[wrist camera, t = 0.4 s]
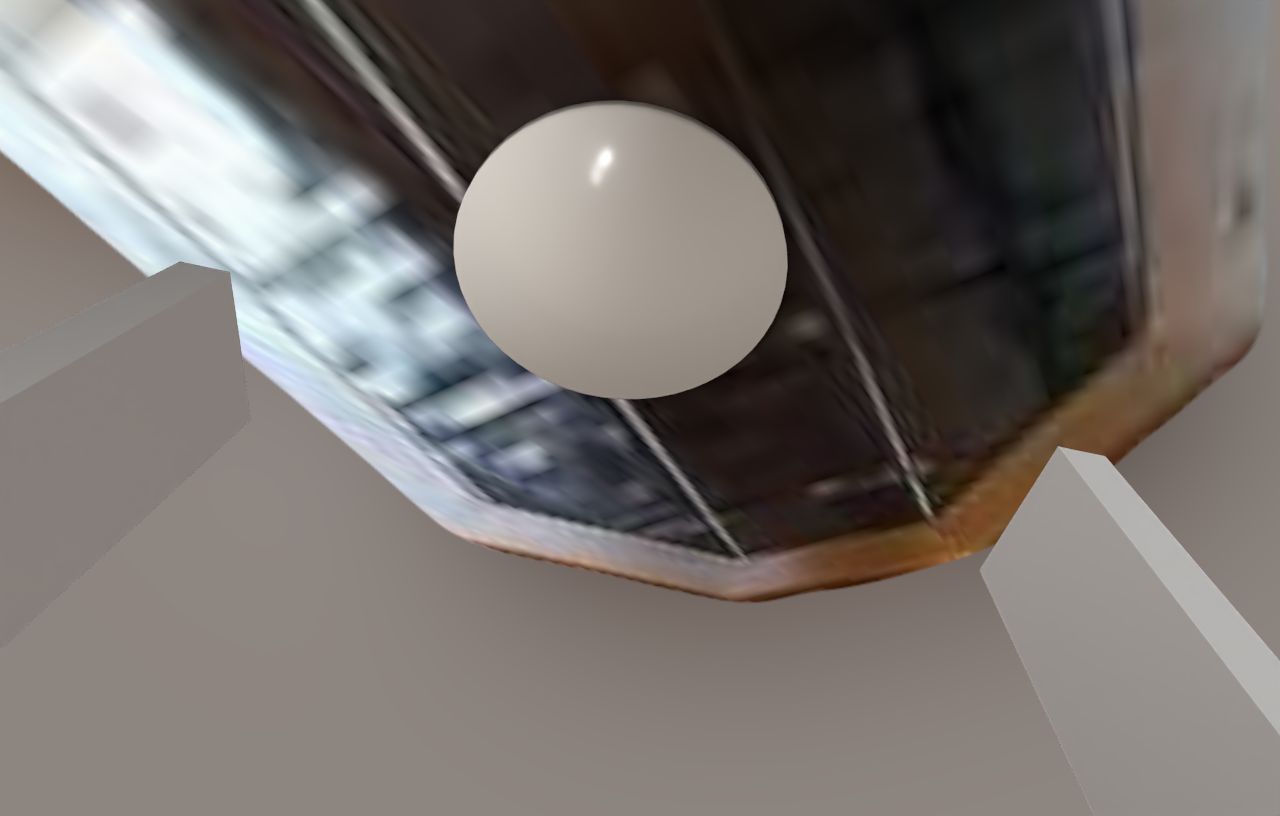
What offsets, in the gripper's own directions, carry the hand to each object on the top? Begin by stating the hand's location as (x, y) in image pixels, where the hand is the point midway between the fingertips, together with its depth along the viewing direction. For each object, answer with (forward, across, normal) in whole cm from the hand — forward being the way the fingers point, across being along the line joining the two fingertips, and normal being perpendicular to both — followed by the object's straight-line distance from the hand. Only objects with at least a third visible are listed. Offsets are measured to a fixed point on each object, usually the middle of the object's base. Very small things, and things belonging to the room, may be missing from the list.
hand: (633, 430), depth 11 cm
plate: (+27, -2, -7) cm, 28 cm away
